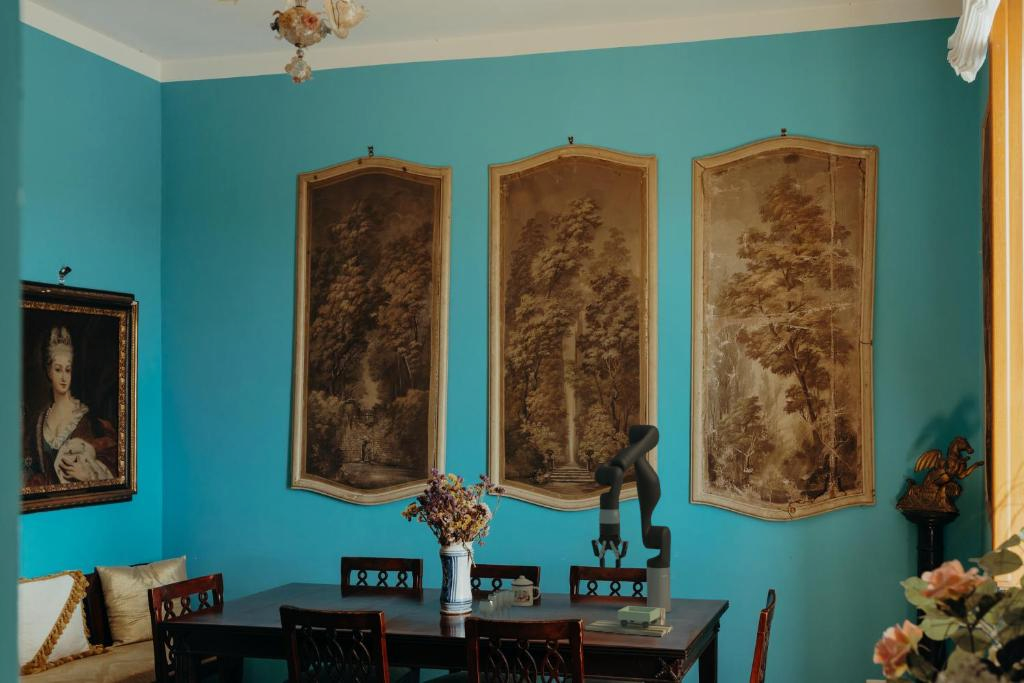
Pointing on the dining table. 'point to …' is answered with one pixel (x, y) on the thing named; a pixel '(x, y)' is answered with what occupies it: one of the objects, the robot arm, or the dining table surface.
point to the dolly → (638, 615)
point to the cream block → (662, 617)
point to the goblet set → (497, 603)
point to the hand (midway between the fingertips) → (610, 568)
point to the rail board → (629, 628)
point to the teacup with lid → (523, 592)
